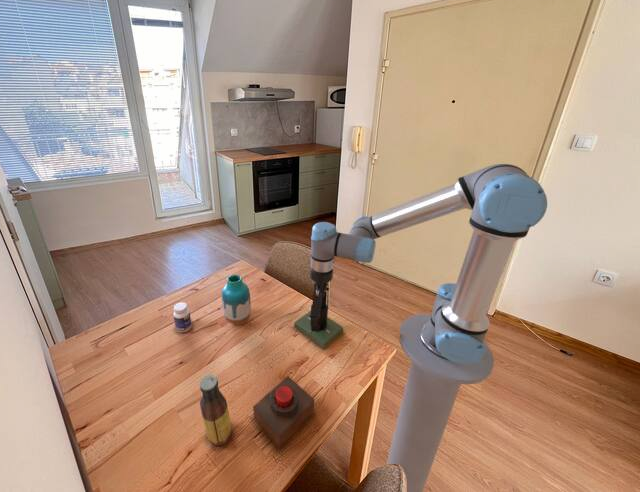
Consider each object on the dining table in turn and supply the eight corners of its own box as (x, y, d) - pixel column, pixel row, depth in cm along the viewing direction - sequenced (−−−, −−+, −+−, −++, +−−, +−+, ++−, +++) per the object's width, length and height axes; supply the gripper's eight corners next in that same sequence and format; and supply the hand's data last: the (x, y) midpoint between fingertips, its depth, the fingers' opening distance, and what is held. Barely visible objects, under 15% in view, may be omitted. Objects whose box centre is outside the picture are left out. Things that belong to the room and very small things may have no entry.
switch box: (287, 388, 87) (287, 370, 84) (313, 412, 80) (314, 394, 77) (253, 419, 79) (252, 401, 76) (279, 449, 72) (279, 430, 69)
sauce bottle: (232, 420, 79) (225, 368, 71) (231, 445, 73) (224, 392, 65) (207, 423, 78) (198, 371, 70) (204, 449, 72) (194, 395, 64)
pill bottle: (189, 333, 107) (185, 311, 103) (173, 333, 108) (169, 311, 103) (193, 321, 113) (190, 301, 109) (179, 321, 113) (175, 301, 109)
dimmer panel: (342, 332, 107) (343, 327, 106) (323, 349, 100) (323, 343, 99) (313, 313, 116) (313, 308, 115) (294, 327, 109) (294, 321, 108)
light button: (284, 388, 80) (284, 382, 79) (295, 399, 77) (295, 393, 76) (272, 398, 77) (272, 393, 76) (283, 410, 74) (283, 405, 73)
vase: (256, 313, 117) (253, 273, 109) (244, 332, 107) (241, 289, 100) (232, 307, 120) (228, 268, 112) (219, 325, 111) (213, 283, 103)
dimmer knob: (311, 317, 111) (312, 299, 107) (327, 320, 109) (329, 302, 106) (308, 328, 105) (309, 310, 102) (325, 332, 104) (326, 313, 100)
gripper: (327, 292, 85) (323, 345, 94) (337, 251, 107) (334, 297, 115) (302, 287, 87) (300, 340, 96) (317, 248, 109) (315, 294, 118)
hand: (318, 317), depth 106 cm, fingers open, 13 cm apart
